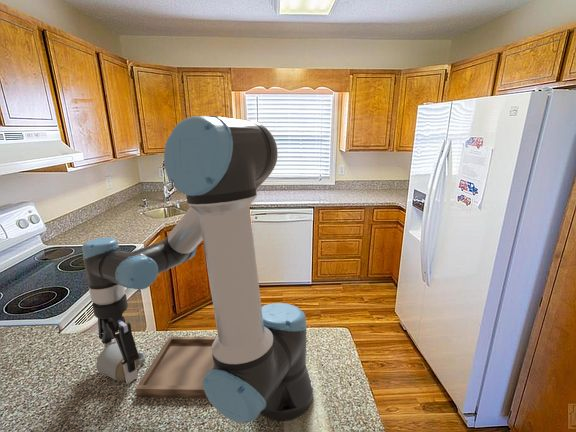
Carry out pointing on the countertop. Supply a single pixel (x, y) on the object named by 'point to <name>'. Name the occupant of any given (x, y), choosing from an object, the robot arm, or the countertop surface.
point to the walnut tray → (178, 369)
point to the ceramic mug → (114, 362)
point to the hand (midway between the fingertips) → (122, 371)
